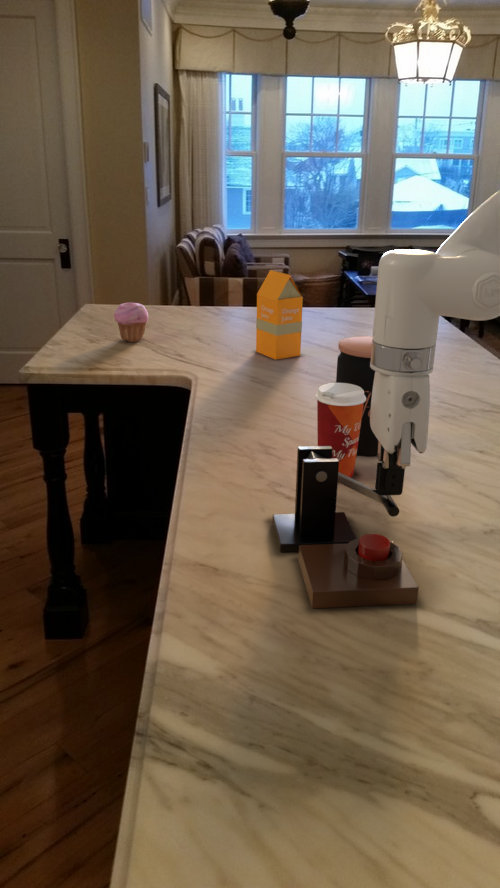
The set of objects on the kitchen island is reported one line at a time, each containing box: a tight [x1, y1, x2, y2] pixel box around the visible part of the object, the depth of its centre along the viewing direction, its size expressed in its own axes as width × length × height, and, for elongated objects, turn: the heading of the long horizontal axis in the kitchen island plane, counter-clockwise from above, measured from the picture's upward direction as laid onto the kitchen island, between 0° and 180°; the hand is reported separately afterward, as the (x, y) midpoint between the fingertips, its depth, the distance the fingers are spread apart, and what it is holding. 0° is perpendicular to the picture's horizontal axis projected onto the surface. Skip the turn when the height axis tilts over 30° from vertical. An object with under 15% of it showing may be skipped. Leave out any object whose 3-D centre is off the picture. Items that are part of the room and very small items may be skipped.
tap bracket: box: [272, 445, 357, 553], centre depth 91 cm, size 10×8×12 cm
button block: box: [297, 537, 420, 609], centre depth 83 cm, size 12×10×4 cm
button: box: [358, 533, 391, 561], centre depth 82 cm, size 4×4×2 cm
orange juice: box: [255, 269, 304, 361], centre depth 173 cm, size 8×9×20 cm
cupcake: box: [113, 301, 149, 343], centre depth 185 cm, size 9×9×10 cm
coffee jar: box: [335, 335, 378, 457], centre depth 119 cm, size 11×11×18 cm
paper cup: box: [314, 382, 366, 478], centre depth 109 cm, size 8×8×14 cm
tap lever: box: [307, 451, 400, 518], centre depth 91 cm, size 13×6×2 cm, turn 96°
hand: (388, 492), depth 92 cm, fingers closed
